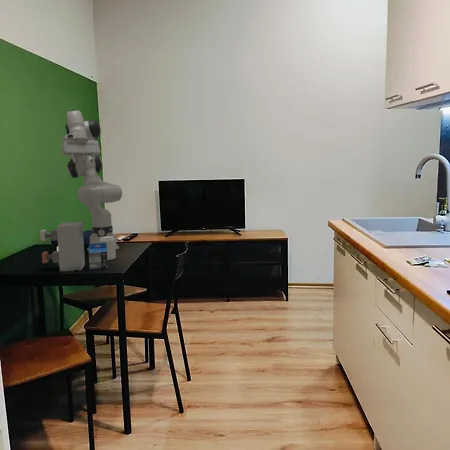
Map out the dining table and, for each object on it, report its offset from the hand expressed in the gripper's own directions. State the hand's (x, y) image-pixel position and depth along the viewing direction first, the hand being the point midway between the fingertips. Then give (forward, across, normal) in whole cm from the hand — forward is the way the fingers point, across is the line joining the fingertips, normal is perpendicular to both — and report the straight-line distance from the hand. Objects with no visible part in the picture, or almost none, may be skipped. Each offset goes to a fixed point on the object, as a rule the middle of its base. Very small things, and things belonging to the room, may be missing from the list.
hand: (83, 162), depth 249 cm
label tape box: (+59, +6, +6) cm, 59 cm away
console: (+55, +17, -4) cm, 57 cm away
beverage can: (+52, -7, -10) cm, 54 cm away
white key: (+39, +25, -3) cm, 47 cm away
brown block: (+50, +25, -7) cm, 56 cm away
